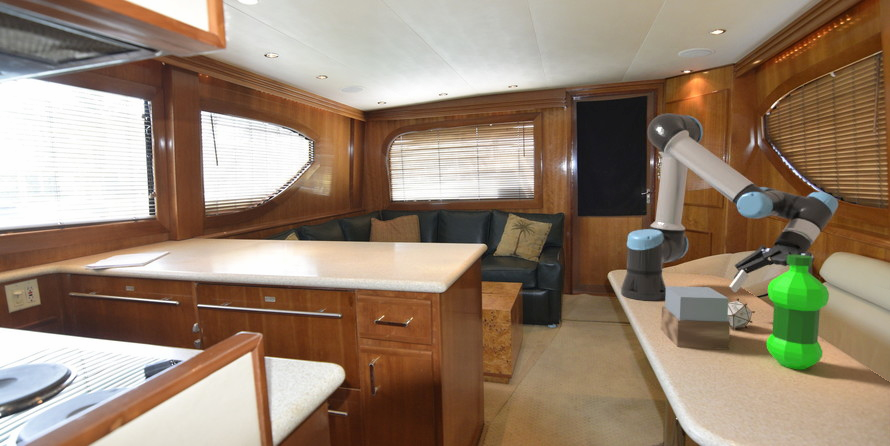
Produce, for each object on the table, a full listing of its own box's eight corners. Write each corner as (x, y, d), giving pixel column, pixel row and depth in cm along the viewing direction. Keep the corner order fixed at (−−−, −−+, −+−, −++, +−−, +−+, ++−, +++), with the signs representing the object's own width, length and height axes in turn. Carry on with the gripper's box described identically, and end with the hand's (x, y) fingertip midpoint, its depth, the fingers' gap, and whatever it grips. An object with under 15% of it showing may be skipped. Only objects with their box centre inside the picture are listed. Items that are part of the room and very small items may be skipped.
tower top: (665, 307, 120) (665, 286, 119) (708, 308, 118) (709, 287, 117) (679, 320, 109) (680, 297, 108) (727, 321, 107) (728, 298, 107)
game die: (742, 342, 121) (766, 321, 114) (711, 330, 122) (733, 309, 116) (737, 318, 127) (759, 297, 121) (708, 307, 129) (728, 286, 122)
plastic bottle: (829, 366, 97) (837, 256, 94) (810, 379, 91) (819, 262, 88) (776, 352, 105) (782, 250, 102) (756, 362, 99) (762, 255, 97)
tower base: (661, 330, 121) (662, 306, 121) (707, 332, 119) (708, 307, 119) (677, 347, 109) (678, 320, 109) (728, 349, 108) (730, 322, 107)
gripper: (854, 253, 113) (810, 316, 110) (759, 241, 137) (721, 292, 134) (841, 235, 111) (796, 298, 108) (747, 225, 135) (709, 277, 132)
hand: (755, 295), depth 121 cm, fingers open, 13 cm apart
